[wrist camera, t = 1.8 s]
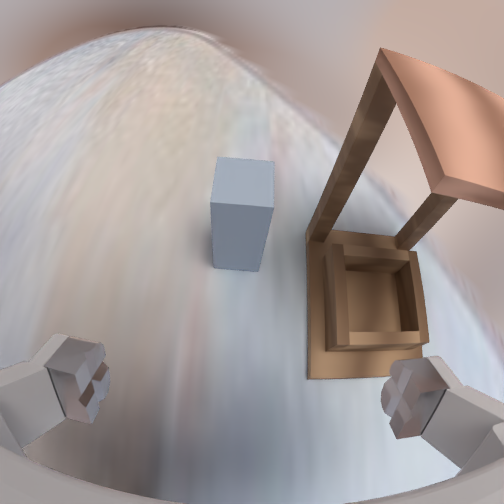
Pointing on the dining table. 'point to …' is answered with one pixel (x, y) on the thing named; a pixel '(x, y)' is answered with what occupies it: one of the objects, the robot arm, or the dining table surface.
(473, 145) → the wooden frame stand
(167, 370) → the dining table surface
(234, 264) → the peg
